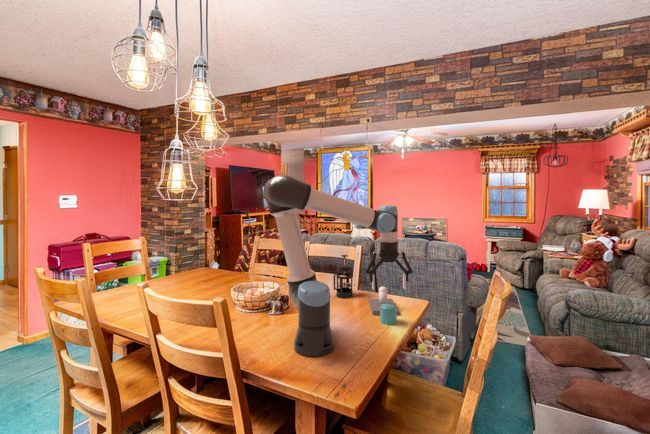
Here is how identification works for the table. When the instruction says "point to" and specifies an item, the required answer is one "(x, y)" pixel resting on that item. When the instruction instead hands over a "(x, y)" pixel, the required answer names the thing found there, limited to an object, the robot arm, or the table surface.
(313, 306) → the robot arm
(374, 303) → the post base
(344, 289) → the french press
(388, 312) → the teal cylinder
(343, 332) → the table surface
